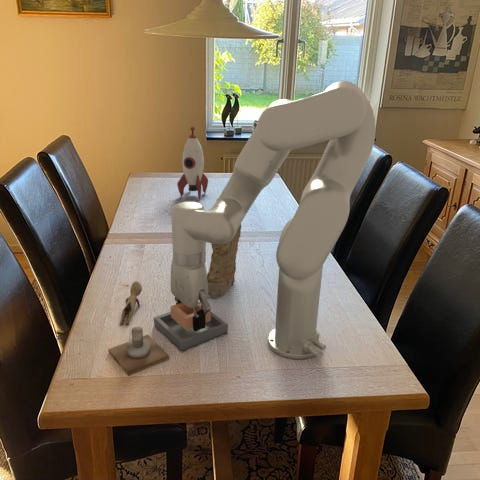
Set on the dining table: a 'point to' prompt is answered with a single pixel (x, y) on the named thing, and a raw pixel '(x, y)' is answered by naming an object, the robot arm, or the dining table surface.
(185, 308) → the ring
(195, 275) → the robot arm
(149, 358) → the brown piece
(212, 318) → the tray
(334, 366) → the dining table surface
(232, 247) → the tan log
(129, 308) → the figurine
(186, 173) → the toy
